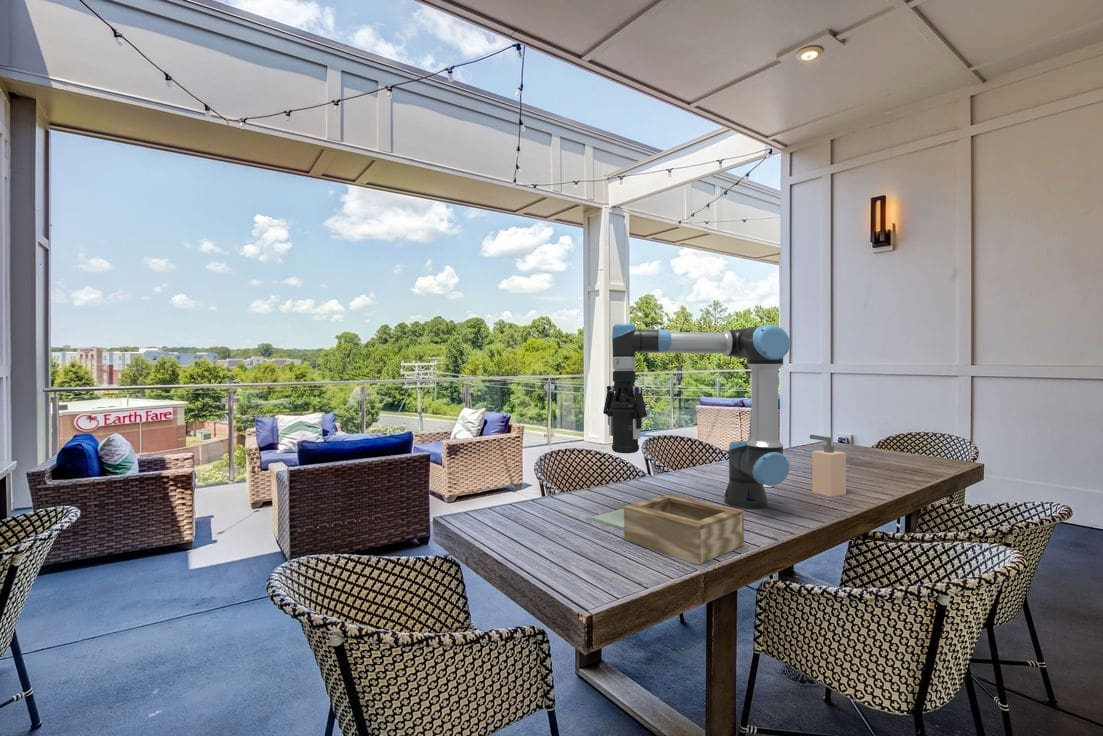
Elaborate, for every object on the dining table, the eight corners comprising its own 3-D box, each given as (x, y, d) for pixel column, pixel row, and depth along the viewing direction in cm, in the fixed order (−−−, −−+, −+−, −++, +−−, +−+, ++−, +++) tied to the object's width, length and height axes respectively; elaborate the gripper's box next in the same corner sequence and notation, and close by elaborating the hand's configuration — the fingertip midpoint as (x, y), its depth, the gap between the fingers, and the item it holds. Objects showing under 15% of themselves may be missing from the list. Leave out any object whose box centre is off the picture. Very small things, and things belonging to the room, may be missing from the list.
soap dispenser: (846, 494, 209) (846, 438, 209) (830, 496, 206) (830, 439, 205) (818, 487, 221) (818, 434, 220) (803, 489, 217) (803, 435, 217)
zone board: (623, 510, 190) (623, 508, 190) (659, 520, 178) (659, 518, 178) (591, 519, 180) (591, 517, 180) (627, 530, 168) (627, 528, 168)
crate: (670, 524, 174) (669, 493, 173) (743, 545, 154) (743, 510, 154) (624, 539, 159) (623, 506, 159) (698, 564, 140) (698, 526, 139)
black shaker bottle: (617, 454, 172) (617, 392, 172) (605, 449, 183) (604, 390, 182) (644, 453, 175) (643, 391, 174) (630, 447, 185) (629, 390, 185)
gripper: (592, 370, 184) (592, 434, 185) (642, 370, 167) (643, 442, 168) (607, 369, 189) (608, 432, 190) (658, 370, 172) (658, 439, 172)
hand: (624, 437), depth 179 cm, fingers closed on black shaker bottle, 10 cm apart
